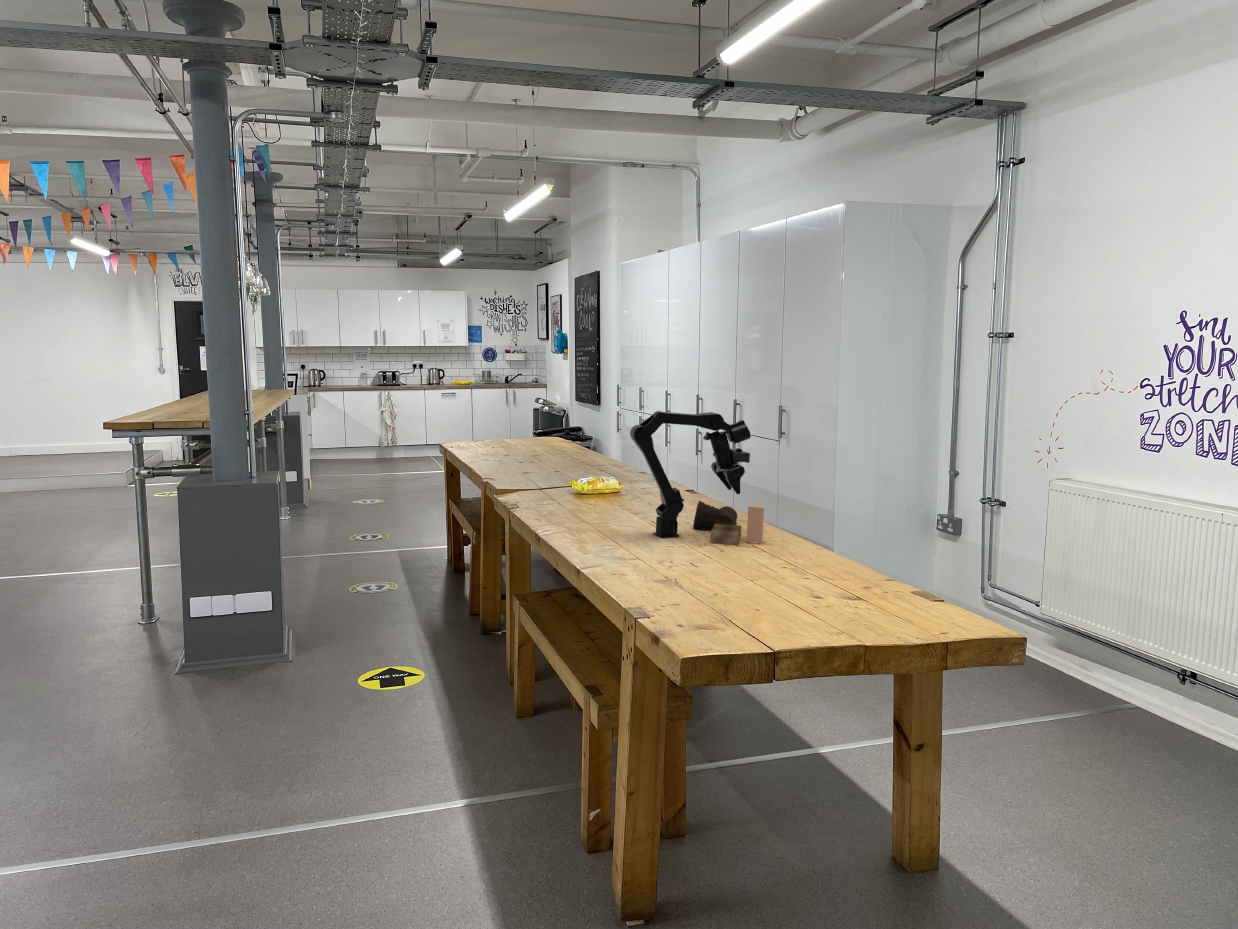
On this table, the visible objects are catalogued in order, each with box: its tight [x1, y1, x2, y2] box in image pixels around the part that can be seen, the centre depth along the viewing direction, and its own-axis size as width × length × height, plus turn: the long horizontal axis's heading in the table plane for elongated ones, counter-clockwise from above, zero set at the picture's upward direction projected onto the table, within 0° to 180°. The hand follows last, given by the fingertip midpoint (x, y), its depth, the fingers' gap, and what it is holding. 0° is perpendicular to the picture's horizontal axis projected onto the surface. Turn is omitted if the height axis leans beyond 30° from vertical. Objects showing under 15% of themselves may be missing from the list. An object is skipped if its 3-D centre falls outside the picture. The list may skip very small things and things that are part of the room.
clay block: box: [746, 504, 765, 544], centre depth 283 cm, size 5×4×12 cm
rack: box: [709, 524, 742, 546], centre depth 285 cm, size 9×13×4 cm
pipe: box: [692, 500, 738, 530], centre depth 305 cm, size 10×15×15 cm
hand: (734, 491), depth 292 cm, fingers open, 9 cm apart
